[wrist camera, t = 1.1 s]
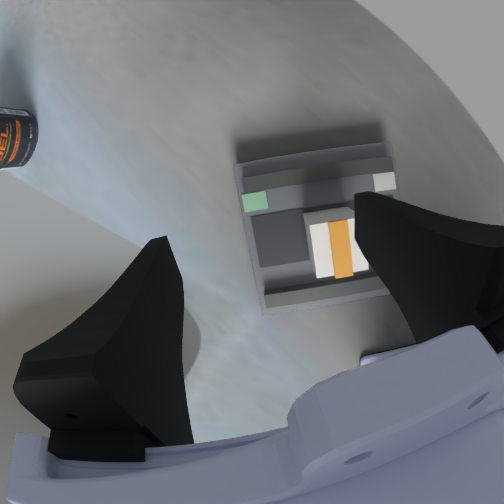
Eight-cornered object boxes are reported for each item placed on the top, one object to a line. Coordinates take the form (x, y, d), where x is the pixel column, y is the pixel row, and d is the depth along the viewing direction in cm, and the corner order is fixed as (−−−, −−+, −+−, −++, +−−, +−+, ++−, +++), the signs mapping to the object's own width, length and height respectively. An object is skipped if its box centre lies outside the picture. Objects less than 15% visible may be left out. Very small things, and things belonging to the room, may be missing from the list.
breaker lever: (351, 250, 21) (370, 272, 16) (309, 256, 21) (317, 281, 17) (346, 205, 20) (365, 217, 16) (302, 212, 21) (309, 225, 16)
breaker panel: (396, 281, 24) (409, 295, 21) (263, 304, 25) (261, 321, 22) (382, 143, 21) (396, 140, 18) (236, 165, 22) (230, 164, 19)
